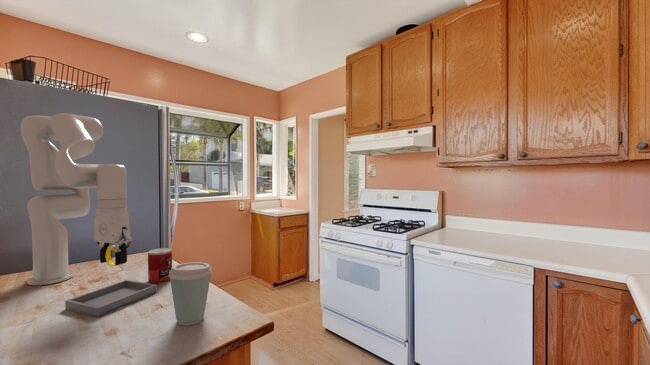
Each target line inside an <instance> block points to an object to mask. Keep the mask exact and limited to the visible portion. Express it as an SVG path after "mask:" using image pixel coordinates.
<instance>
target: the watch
mask: <svg viewBox="0 0 650 365" xmlns="http://www.w3.org/2000/svg"><path fill="white" fill-rule="evenodd" d="M111 250H112V251H114V253H115V252H117V250H116V247H115V244H113V245H112V244H111V246H108V249H107V250H106V255H105V257H106V261H107V262H106V263H107V265H108V266H112V267H116V266H117V265H115V262H113V258H112V259H111Z"/></svg>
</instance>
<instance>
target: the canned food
mask: <svg viewBox="0 0 650 365" xmlns="http://www.w3.org/2000/svg"><path fill="white" fill-rule="evenodd" d="M172 267H173V249H172V248H170V247H169V248H168V247H159V248H154V249H150V250H148V251H147V276H148V282H149V284H161V283H166V282H169V281H170V277H169V272H170V271H171V268H172Z"/></svg>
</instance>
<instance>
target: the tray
mask: <svg viewBox="0 0 650 365" xmlns="http://www.w3.org/2000/svg"><path fill="white" fill-rule="evenodd" d="M157 289H158V288H157V284H155V283H148V282H142V281H137V280H131V279H125V280H122V281H119V282H115V283H113V284H109V285H107V286H105V287H101V288H98V289H96V290H93V291H89V292H87V293H84V294H80V295H78V296H76V297H73V298H70V299H66V300H65V302H64V303H65V305H64V306H65V307H64V308H65V310H66V311H67V310H68V311H71V312H75V313H78V314H83V315H86V316H90V317H93V318H94V317H95V318H101V317H102V316H103V317H104V316H105V315H106V314H109V313H112V312H114V311H116V310H119V309H122V308H125V307H126V306H128V305H131V304H133V303H136V302H138V301H140V300H142V299H145V298H146V297H149V296H151V295H153V294H156V293H158V291H157Z"/></svg>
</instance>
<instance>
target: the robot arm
mask: <svg viewBox="0 0 650 365" xmlns="http://www.w3.org/2000/svg"><path fill="white" fill-rule="evenodd" d="M20 134H21V138H22V140H23V143H24V144H25V147H26V150H27V151H28V155H29V167H30V177H31V178H30V179H31V184H32V186H33V188H34V189H35V190H38V191H41V192H42V191H43V192H45V191H46V192H47V191H48V192H52V191H53V192H55V191H69V192H70V193H54V194H53V193H51V194H42V195H36V196H33V197H32V198H31V199H29V201H28V202H27V213H28V215H29V216H28V217H29V220H30V221H29V222H30V227H31V242H32V243H31V244H32V247H31V248H32V270H31V272H32V277H30V278H28V279H27V280H26V283H27V285H29V286H32V287H33V286H44V285H52V284H56V283H60V282H64V281H67V280H70V279H71V278H73V277H74V276H75V272H74V271H73V270H72V271H70V270H69V242H68V241H69V240H68V239H69V238H68V237H69V236H68V229H67V228H66V227H65V225H63V223H61V222H60V221H59V220H65V219H74V218H75V219H77V218H82V217H84V216H87V215H88V214H89V212H90V210H91V199H90V198H91V197H90V189H96V210H95V214H94V222H93V240H94V241H95V242H96V243H97V245H98V250H99V263H101V264H103V263H107V261H106V257H105V255H106V250H107V249H108V246H112V244H114V245H115V247H116V250H117V252H115V251H114V259H115V260H114V263H115V265H116V266H120V265H124V264H127V262H128V250H129V247H130V245H131V243H133V237H132V236H131V224H130V217H129V211H128V185H127V184H128V181H127V180H128V178H127V176H128V175H127V173H128V171H127V168H126V166H124V165H123V164H96V163H95V164H93V163H75V162H74V161H76V160H78V159H81V158H82V159H83V158H85V157H87V156H89V155H91V154H92V153H93V152H94V150H95V149H96V143H95V142H96V141H99V139H101V138H102V137H103V136H104V126H103V124H102V123H101V121H100V120H98V119H97V118H95V117H92V116H85V115H81V114H80V115H79V114H74V113H67V112H64V113H63V112H62V113H61V112H60V113H56V114H53V115H52V116H50V115H37V114H35V115H34V114H33V115H27V116H25V117H24V118H23V119H22V121H21V124H20ZM51 141H56V142H57V141H58V143H59V145H60V147H61V148H60V149H58V148H57V146H55V145H54V144H53V143H52V142H51ZM112 254H113V249H112V250H111V259H112V260H113V255H112Z"/></svg>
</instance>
